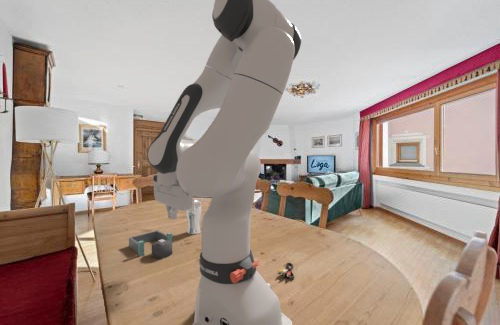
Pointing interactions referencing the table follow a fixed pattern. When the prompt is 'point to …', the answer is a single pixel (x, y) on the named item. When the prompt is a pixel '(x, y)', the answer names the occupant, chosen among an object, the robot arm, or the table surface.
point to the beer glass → (194, 218)
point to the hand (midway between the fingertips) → (172, 218)
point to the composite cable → (287, 272)
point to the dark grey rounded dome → (161, 249)
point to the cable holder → (146, 240)
